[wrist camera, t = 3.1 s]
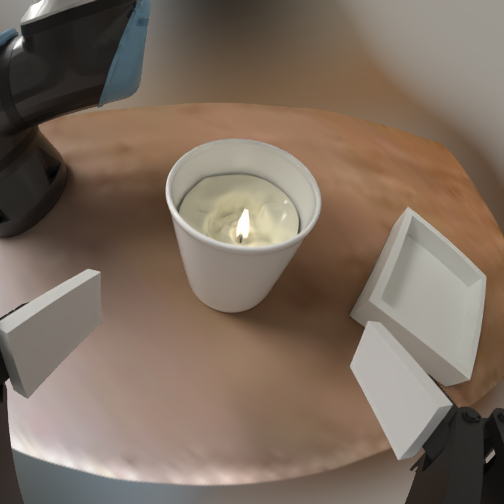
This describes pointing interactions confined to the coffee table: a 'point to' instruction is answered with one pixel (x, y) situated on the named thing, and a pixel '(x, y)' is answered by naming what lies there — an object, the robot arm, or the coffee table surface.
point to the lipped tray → (426, 299)
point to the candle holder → (239, 218)
